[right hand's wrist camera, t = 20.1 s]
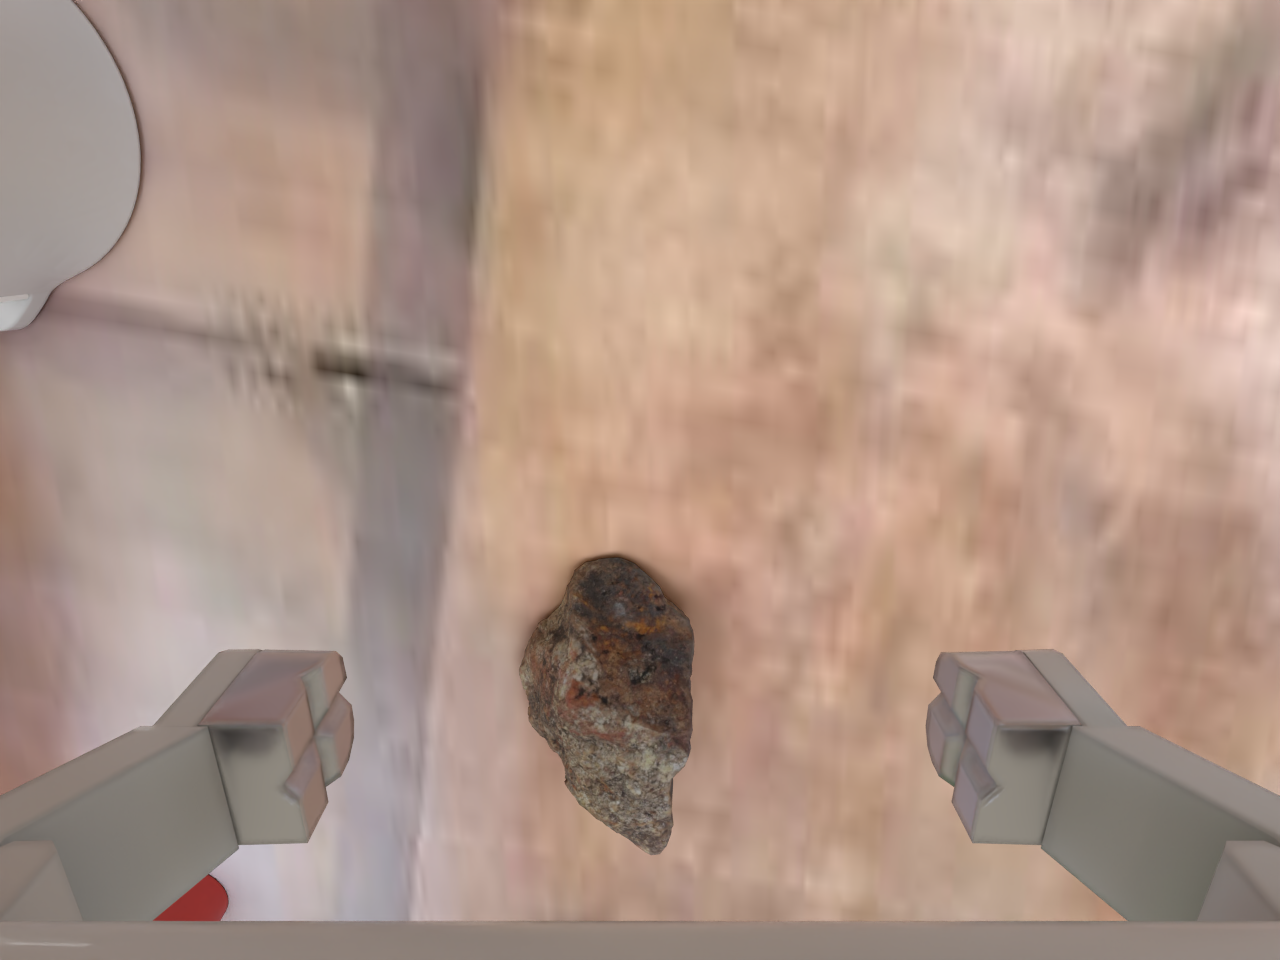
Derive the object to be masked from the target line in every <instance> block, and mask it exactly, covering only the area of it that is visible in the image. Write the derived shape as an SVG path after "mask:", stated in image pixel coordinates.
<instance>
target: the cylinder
mask: <svg viewBox="0 0 1280 960" xmlns="http://www.w3.org/2000/svg"><path fill="white" fill-rule="evenodd" d="M227 906H228V897H227V894H226V892H225V890H224V888H223V887H222V886H221V884H220V883H219V882H218V881H216V880H215V879H214V878H212V877H211V876H209V875H207V876H205V877H204V878H203V879H202V880H201V881H200V882H198V883H197V884H196V885H195V886H194V887H192V888H191V889H190V890H189V891H188V892H186V893H185V894H184V895H183V896H182V897H180V898H179V899H178V900H177V901H176V902H174V903H173V904H172V905H171V906H170V907H168V908H167V909H166V910H165V911H164V912H162V913H161V914H160V915H159V916H158V917H156V918H155V919H154V920H153V921H220V920H221V918H222V917H223V915H224V913H225V911H226V909H227Z"/></svg>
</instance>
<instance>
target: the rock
mask: <svg viewBox="0 0 1280 960" xmlns="http://www.w3.org/2000/svg"><path fill="white" fill-rule="evenodd" d="M693 655H694V635H693V630H692V627H691V625H690V621H689V619H688V618H687V617H686V616H685V615H684V613H683V611H681V610H680V609H679V608H678V607H677V606H675V605H674V604H673V603H672V602H670V601H669V600H667V599H666V598H665V597H664V595H663V593H662V591H661V589H660V587H659V586H658V585H657V584H656V583H655V582H654V581H653V580H652V579H651V578H650V577H649V576H648V575H647V574H646V573H645V572H644V571H642V570H641V569H640V568H639V567H638V566H637V565H636V564H634V563H632V562H630V561H627V560H625V559H622V558H605V559H598V560H596V561H591V562H586V563H584V564H583V565H581V566H580V567H578V568H577V569H576V570H575V572H574V575H573V577H572V579H571V581H570V583H569V584H568V585H567V589H566V593H565V596H564V599H563V601H562V603H561V605H560V606H559V607H558V608H557V609H556V610H555V611H554V612H553V613H552V614H551V615H550V616H549V617H548V619H544V620H542V621H541V622H540V623H538V628H537V629H536V630H535V631H534V633H533V635H532V637H531V639H530V641H529V643H528V645H527V648H526V650H525V656H524V658H523V660H522V663H521V666H520V669H519V675H520V677H521V680H522V685H523V688H524V689H525V690H526V694H527V696H528V701H529V707H528V715H529V722H530V723H531V724H532V727H533V728H534V729H535V730H536V731H537V732H538V733H539V735H540V736H542V737H544V738H545V739H546V740H547V742H548V744H549V746H550V748H551V749H552V750H553V751H554V752H556V753H558V755H559V756H560V757H561V759H562V762H563V765H564V767H565V772H566V773H565V774H566V775H565V778H566V780H565V781H564V782H565V785H566V786H567V788H568V789H569V790H570V792H571V793H572V794H573V796H574V797H575V798H576V800H577V801H578V803H579V805H581V806H582V807H584V808H585V809H586V810H588V811H589V812H590V813H591V814H592V815H593V816H594V817H595V818H596V819H598V820H600V821H602V822H603V823H604V824H605V825H606V826H608V827H610V828H611V829H612V830H614V831H615V832H616V833H620V834H621V835H623V836H624V837H626V838H628V839H629V840H630V841H632V842H633V843H634V844H635V845H636V846H638V847H639V848H640V849H642V850H643V851H645V852H647V853H648V854H650V855H656V854H660V853H661V852H662V851H663V849H664V848H665V847H666V846H667V843H668V841H669V838H670V835H671V829H672V827H673V816H672V792H673V777H674V776H675V775H676V774H677V773H678V772H679V771H680V770H681V769H682V768H683V767H684V766H685V764H686V762H687V759H688V756H689V753H690V750H691V745H690V738H691V734H692V730H693V729H692V703H693V700H692V696H691V693H690V690H691V681H690V677H691V675H692V660H693Z"/></svg>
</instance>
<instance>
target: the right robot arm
mask: <svg viewBox="0 0 1280 960" xmlns="http://www.w3.org/2000/svg"><path fill="white" fill-rule="evenodd" d="M140 166H141V157H140V142H139V134H138V128H137V123H136V118H135V114H134V110H133V107H132V103H131V100H130V97H129V94H128V91H127V88H126V86H125V83H124V81H123V78H122V76H121V74H120V72H119V69H118V67H117V65H116V63H115V61H114V59H113V57H112V55H111V54H110V52H109V50H108V49H107V47H106V45H105V43H104V42H103V40H102V39H101V37H100V36H99V34H98V33H97V31H96V30H95V28H94V27H93V25H92V24H91V23H90V21H89V20H88V19H87V17H86V16H85V15H84V14H83V13H82V11H81V10H80V9H79V8H78V7H77V5H76V4H75V3H74V2H73V1H72V0H0V331H9V330H19V329H22V328H25V327H26V326H28V325H29V324H30V323H31V322H32V321H33V320H34V319H35V317H36V316H37V315H38V313H39V312H40V310H41V309H42V307H43V305H44V304H45V302H46V300H47V299H48V297H49V295H50V293H51V292H52V290H54V289H55V288H56V287H57V286H58V285H60V284H62V283H63V282H65V281H66V280H68V279H70V278H72V277H74V276H76V275H78V274H80V273H82V272H83V271H85V270H87V269H88V268H90V267H91V266H93V265H94V264H96V263H97V262H98V261H99V260H101V259H102V258H103V257H104V256H105V255H106V254H107V253H108V252H109V251H110V250H111V248H112V247H113V246H114V245H115V244H116V242H117V241H118V239H119V238H120V236H121V235H122V233H123V231H124V230H125V228H126V226H127V224H128V222H129V219H130V217H131V215H132V212H133V209H134V206H135V202H136V198H137V194H138V188H139V181H140ZM346 678H347V676H346V671H345V667H344V662H343V657H342V656H341V655H340V654H338V653H337V652H336V651H305V650H259V649H248V650H226V651H222V652H219V653H218V654H217V655H216V656H215V657H214V658H213V659H212V660H211V662H210V663H209V664H208V665H207V666H206V667H205V668H204V669H203V670H202V672H201V673H200V674H199V675H198V676H197V677H196V678H195V679H194V681H193V682H192V683H191V684H190V685H189V686H188V687H187V688H186V689H185V691H184V692H183V693H182V694H181V695H180V696H179V697H178V698H177V699H176V701H175V702H174V703H173V704H172V705H171V706H170V707H169V708H168V710H167V711H166V712H165V713H164V714H163V715H162V716H161V717H160V718H159V720H158V721H157V722H156V723H155V724H154V725H153V726H140V727H138V728H136V729H134V730H132V731H130V732H128V733H126V734H124V735H122V736H120V737H118V738H116V739H114V740H112V741H110V742H108V743H106V744H104V745H102V746H100V747H98V748H96V749H94V750H92V751H90V752H87V753H85V754H83V755H81V756H79V757H77V758H75V759H73V760H71V761H69V762H67V763H65V764H63V765H61V766H59V767H57V768H55V769H53V770H51V771H49V772H47V773H45V774H43V775H41V776H39V777H37V778H35V779H33V780H31V781H29V782H27V783H25V784H23V785H21V786H19V787H17V788H15V789H13V790H11V791H9V792H7V793H5V794H3V795H1V796H0V960H1280V796H1279V795H1277V794H1275V793H1273V792H1271V791H1269V790H1267V789H1265V788H1263V787H1261V786H1259V785H1257V784H1255V783H1253V782H1251V781H1249V780H1247V779H1245V778H1243V777H1241V776H1239V775H1237V774H1235V773H1233V772H1231V771H1229V770H1227V769H1225V768H1222V767H1220V766H1218V765H1216V764H1214V763H1212V762H1210V761H1208V760H1206V759H1204V758H1202V757H1200V756H1198V755H1196V754H1194V753H1192V752H1190V751H1188V750H1186V749H1184V748H1182V747H1180V746H1178V745H1176V744H1174V743H1172V742H1170V741H1168V740H1166V739H1164V738H1162V737H1160V736H1158V735H1156V734H1154V733H1152V732H1150V731H1148V730H1146V729H1144V728H1142V727H1140V726H1127V725H1126V724H1125V723H1124V722H1123V721H1122V720H1121V718H1120V717H1119V716H1118V715H1117V714H1116V713H1115V712H1114V711H1113V710H1112V708H1111V707H1110V706H1109V705H1108V704H1107V703H1106V702H1105V701H1104V699H1103V698H1102V697H1101V696H1100V695H1099V694H1098V693H1097V692H1096V691H1095V689H1094V688H1093V687H1092V686H1091V685H1090V684H1089V683H1088V682H1087V681H1086V679H1085V678H1084V677H1083V676H1082V675H1081V674H1080V673H1079V672H1078V670H1077V669H1076V668H1075V667H1074V666H1073V665H1072V664H1071V663H1070V662H1069V660H1068V659H1067V658H1066V657H1065V656H1064V655H1063V654H1062V653H1060V652H1058V651H1056V650H1054V649H1037V650H1015V651H982V652H941V653H940V655H939V657H938V659H937V661H936V665H935V670H934V676H933V678H934V680H935V682H936V684H937V685H938V687H939V689H940V691H941V693H940V694H939V695H938V696H937V697H936V698H935V699H934V700H933V701H932V702H931V703H930V704H929V705H928V712H927V720H926V735H927V746H928V750H929V753H930V757H931V760H932V763H933V765H934V767H935V769H936V771H937V773H938V776H939V777H941V778H942V779H944V780H945V781H947V782H948V783H949V784H951V785H952V786H954V792H953V798H952V804H953V806H954V808H955V810H956V811H957V813H958V815H959V817H960V819H961V821H962V823H963V825H964V827H965V829H966V831H967V833H968V835H969V837H970V839H971V841H972V843H989V844H1025V845H1042V846H1041V849H1043V850H1044V851H1045V852H1046V853H1047V854H1049V855H1050V856H1051V857H1052V858H1053V859H1054V860H1056V861H1057V862H1058V863H1059V864H1060V865H1062V866H1063V867H1064V868H1065V869H1066V870H1068V871H1069V872H1070V873H1071V874H1072V875H1074V876H1075V877H1076V878H1077V879H1078V880H1080V881H1081V882H1082V883H1083V884H1084V885H1086V886H1087V887H1088V888H1089V889H1090V890H1092V891H1093V892H1094V893H1095V894H1096V895H1097V896H1099V897H1100V898H1101V899H1102V900H1103V901H1105V902H1106V903H1107V904H1108V905H1109V906H1111V907H1112V908H1113V909H1114V910H1115V911H1117V912H1118V913H1119V914H1120V915H1121V916H1123V917H1124V918H1125V919H1126V920H1127V921H153V920H154V919H155V918H156V917H158V916H159V915H160V914H161V913H162V912H164V911H165V910H166V909H167V908H168V907H170V906H171V905H172V904H173V903H174V902H176V901H177V900H178V899H179V898H180V897H182V896H183V895H184V894H185V893H186V892H188V891H189V890H190V889H191V888H192V887H194V886H195V885H196V884H197V883H198V882H200V881H201V880H202V879H203V878H204V877H205V876H207V875H208V874H209V873H210V872H211V871H213V870H214V869H215V868H216V867H217V866H219V865H220V864H221V863H222V862H223V861H225V860H226V859H227V858H228V857H229V856H231V855H232V854H233V853H234V852H235V851H237V850H238V849H239V846H238V845H255V844H289V843H308V841H309V839H310V837H311V835H312V833H313V831H314V829H315V827H316V825H317V823H318V821H319V819H320V817H321V815H322V813H323V811H324V809H325V808H326V806H327V804H328V798H327V792H326V786H328V785H329V784H331V783H332V782H333V781H335V780H336V779H338V778H339V777H341V775H342V773H343V771H344V769H345V767H346V765H347V763H348V761H349V757H350V753H351V748H352V744H353V739H354V718H353V711H352V705H351V704H350V703H349V702H348V701H347V700H346V699H345V698H344V697H343V696H342V695H341V694H340V693H339V691H340V689H341V687H342V685H343V684H344V682H345V680H346Z"/></svg>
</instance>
